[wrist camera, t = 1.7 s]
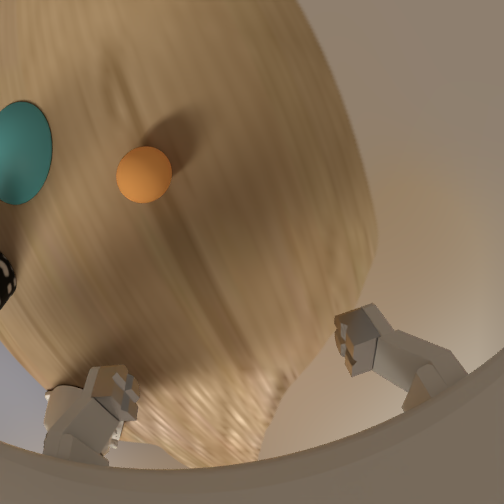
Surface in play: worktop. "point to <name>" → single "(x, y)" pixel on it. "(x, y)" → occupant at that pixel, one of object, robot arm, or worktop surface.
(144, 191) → the ball
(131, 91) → the worktop surface
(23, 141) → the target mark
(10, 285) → the spotted tube
